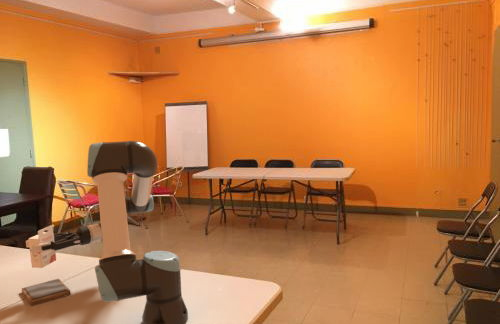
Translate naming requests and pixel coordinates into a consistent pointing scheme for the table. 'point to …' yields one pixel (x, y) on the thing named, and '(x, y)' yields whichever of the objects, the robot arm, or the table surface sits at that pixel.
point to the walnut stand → (45, 291)
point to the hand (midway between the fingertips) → (28, 247)
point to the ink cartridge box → (46, 256)
